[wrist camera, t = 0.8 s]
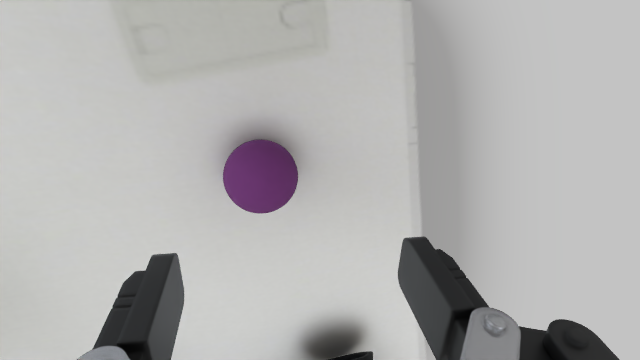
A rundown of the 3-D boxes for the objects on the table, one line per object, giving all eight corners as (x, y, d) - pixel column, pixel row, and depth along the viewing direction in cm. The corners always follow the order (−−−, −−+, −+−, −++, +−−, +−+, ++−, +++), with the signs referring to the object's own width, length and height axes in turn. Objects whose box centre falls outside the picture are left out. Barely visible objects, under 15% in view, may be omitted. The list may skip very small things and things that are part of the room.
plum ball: (223, 130, 25) (216, 158, 20) (294, 128, 25) (302, 155, 21) (228, 193, 27) (223, 229, 22) (294, 190, 27) (301, 225, 23)
